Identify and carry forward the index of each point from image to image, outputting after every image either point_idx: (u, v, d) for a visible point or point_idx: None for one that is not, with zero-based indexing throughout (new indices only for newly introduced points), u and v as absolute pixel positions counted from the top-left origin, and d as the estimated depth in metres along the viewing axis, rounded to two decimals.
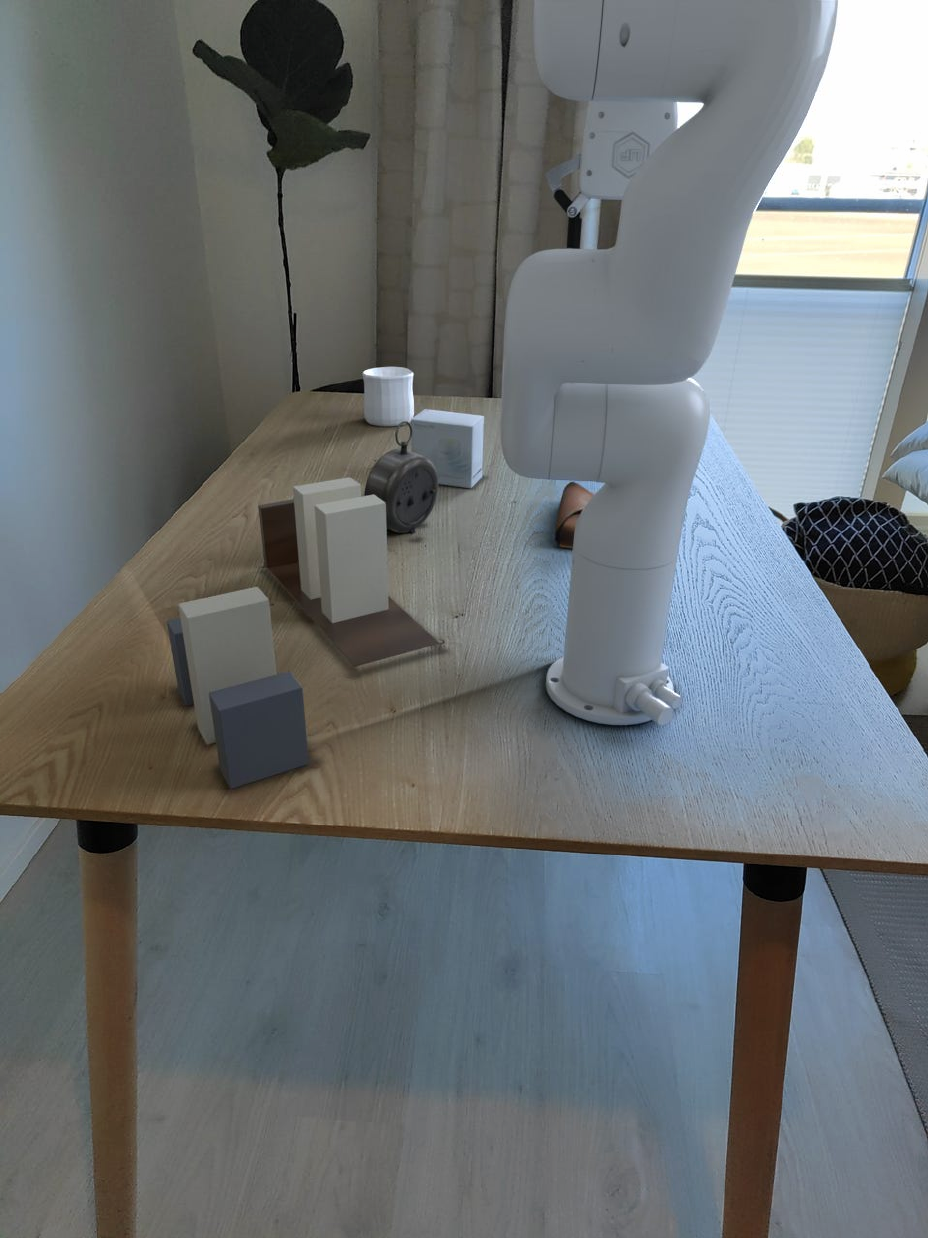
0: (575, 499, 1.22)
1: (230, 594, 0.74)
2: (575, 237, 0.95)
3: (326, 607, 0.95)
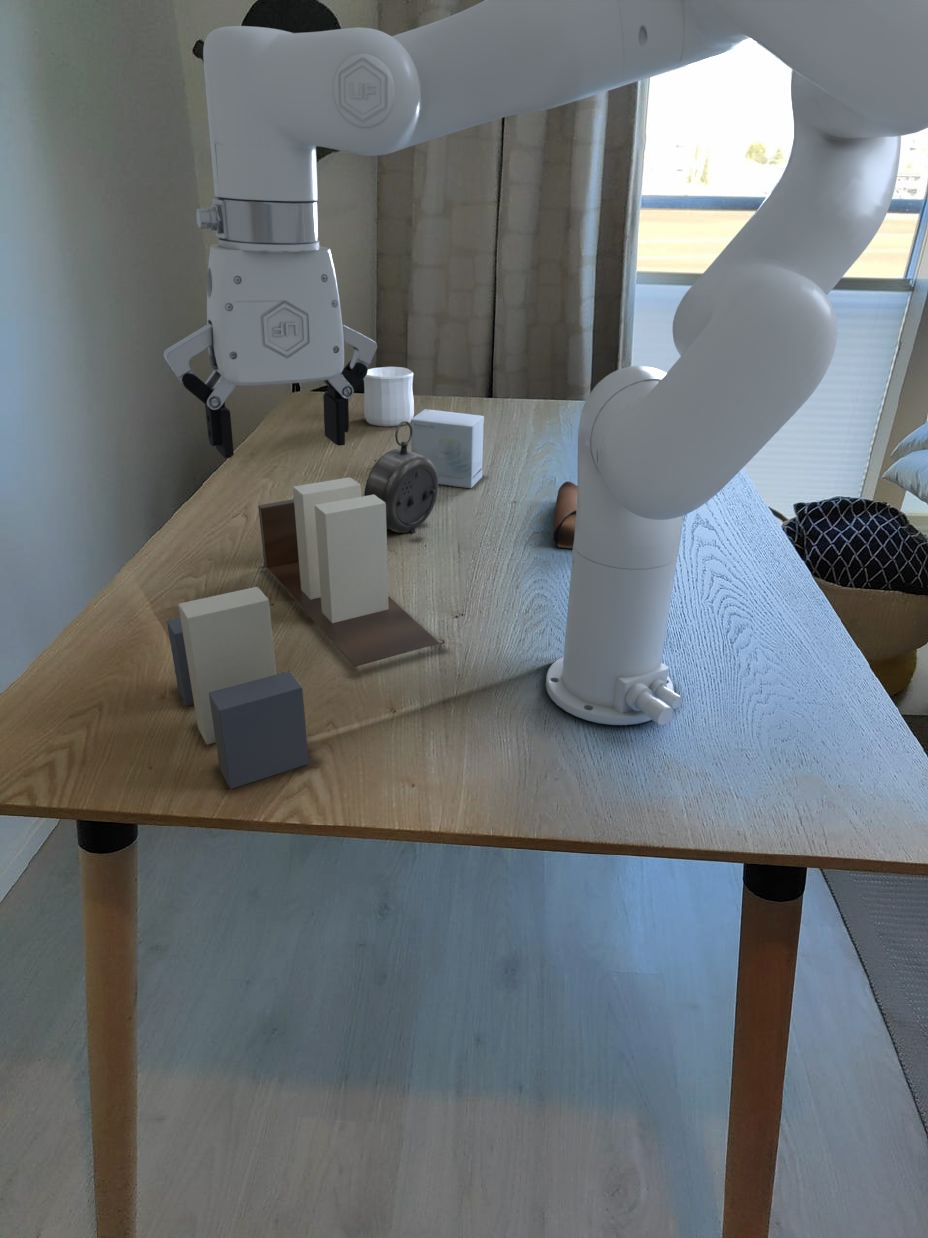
0: (572, 499, 1.22)
1: (230, 594, 0.74)
2: (225, 435, 0.68)
3: (326, 607, 0.95)
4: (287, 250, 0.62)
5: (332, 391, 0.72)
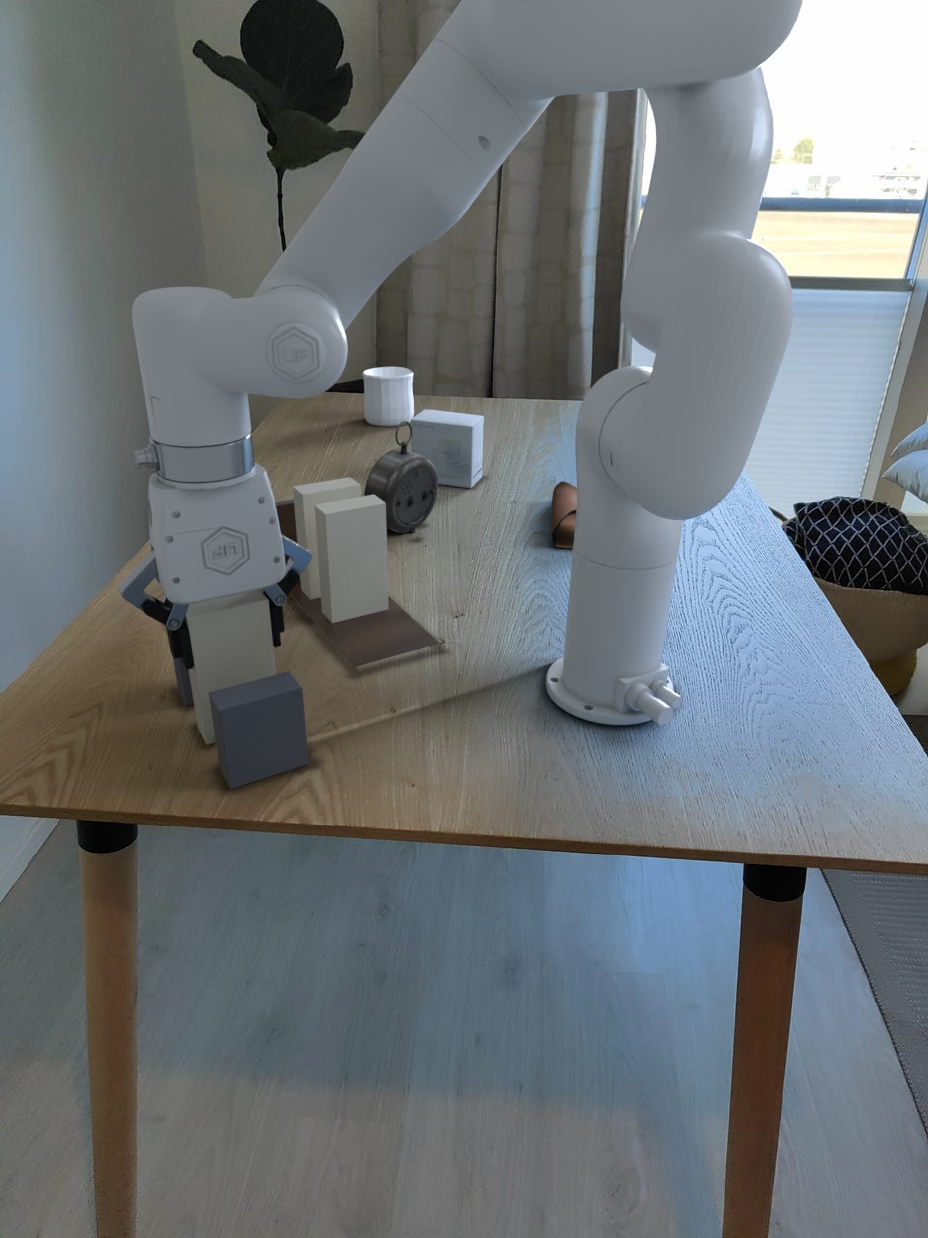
0: (569, 499, 1.22)
1: None
2: (185, 650, 0.72)
3: (326, 607, 0.95)
4: (222, 486, 0.65)
5: None
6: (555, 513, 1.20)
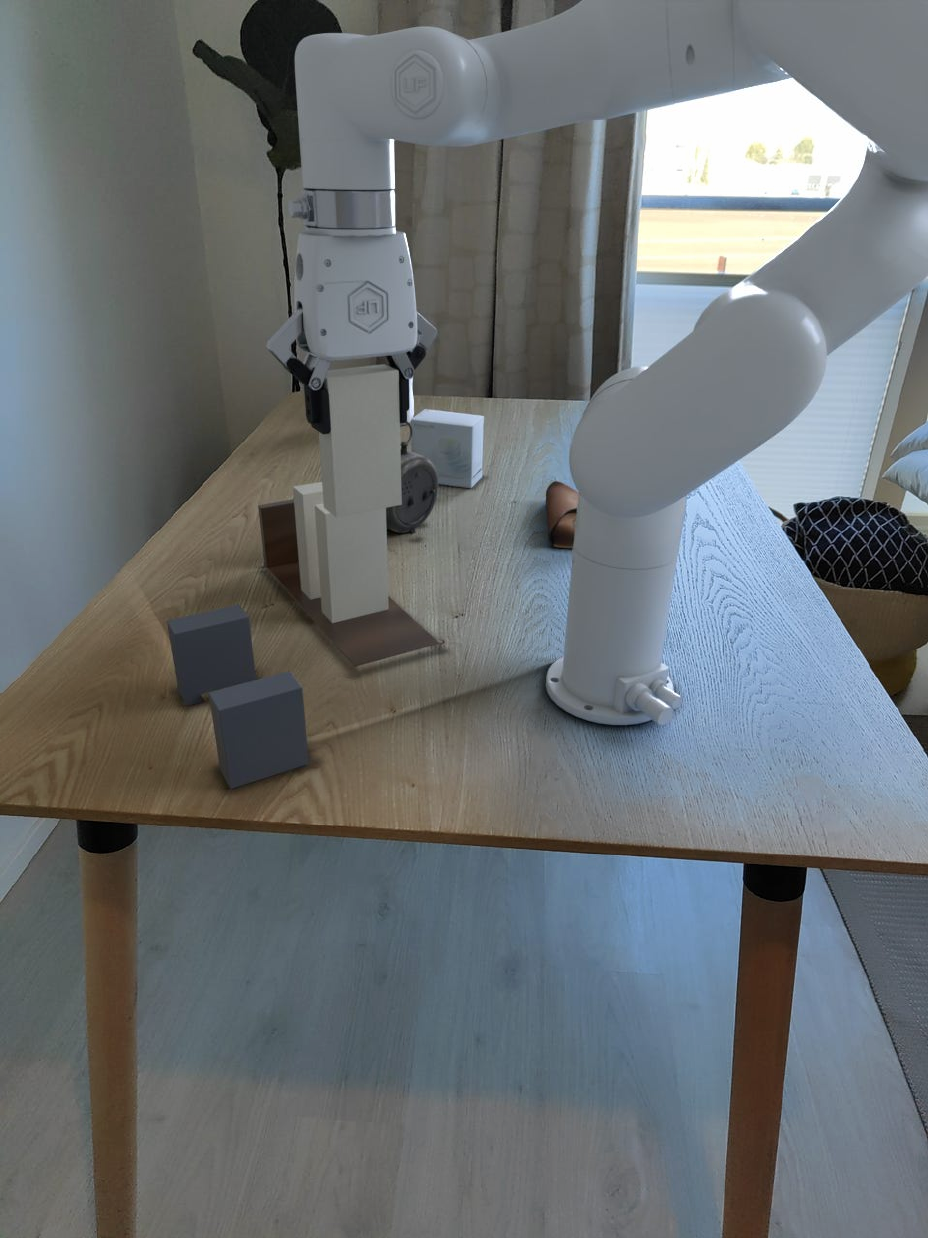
0: (564, 499, 1.22)
1: (361, 367, 0.78)
2: (324, 413, 0.76)
3: (326, 607, 0.95)
4: (371, 235, 0.69)
5: None
6: (551, 513, 1.20)
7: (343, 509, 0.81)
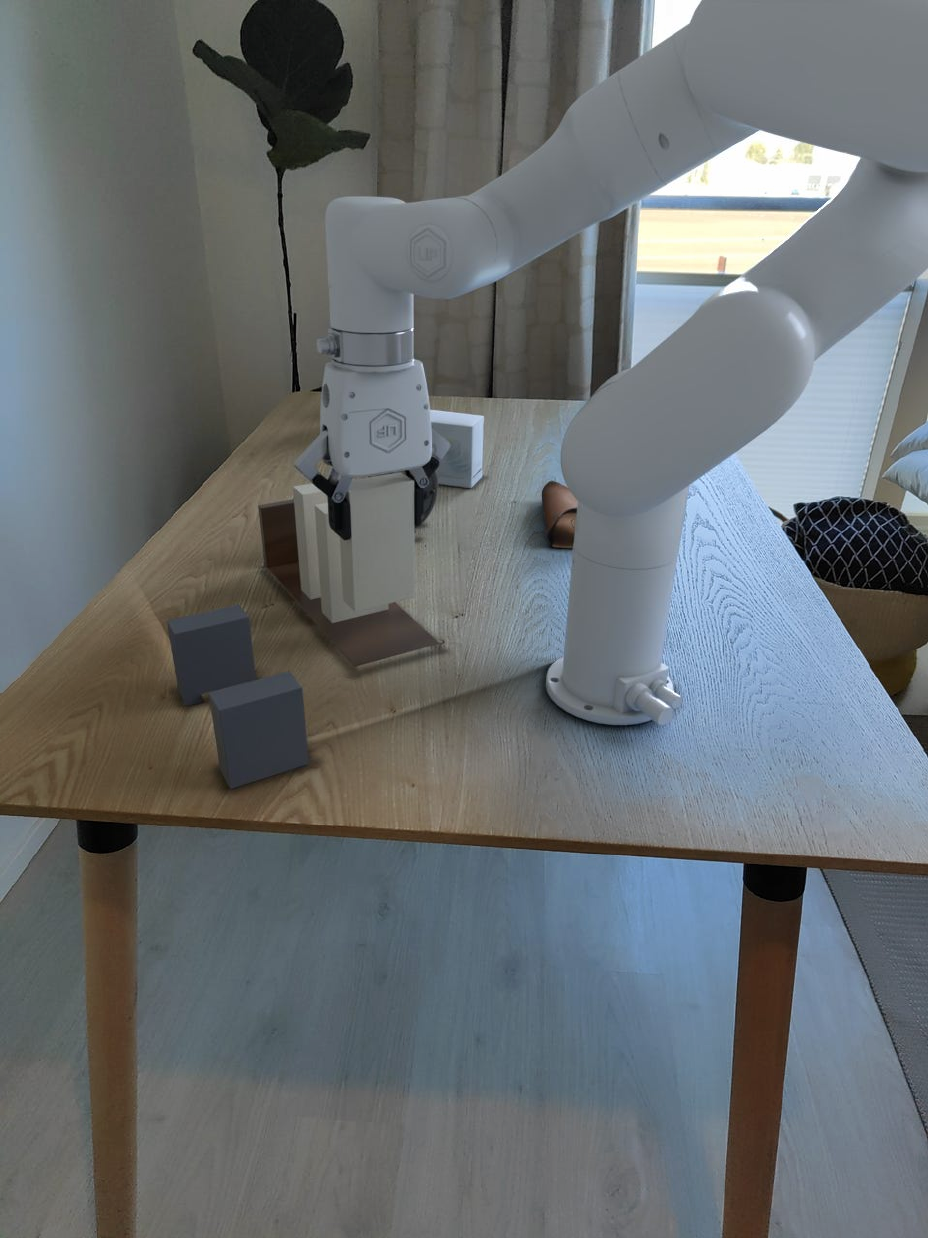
0: (561, 498, 1.22)
1: (379, 477, 0.85)
2: (346, 522, 0.82)
3: (326, 607, 0.95)
4: (392, 370, 0.76)
5: None
6: (549, 513, 1.20)
7: (361, 604, 0.88)
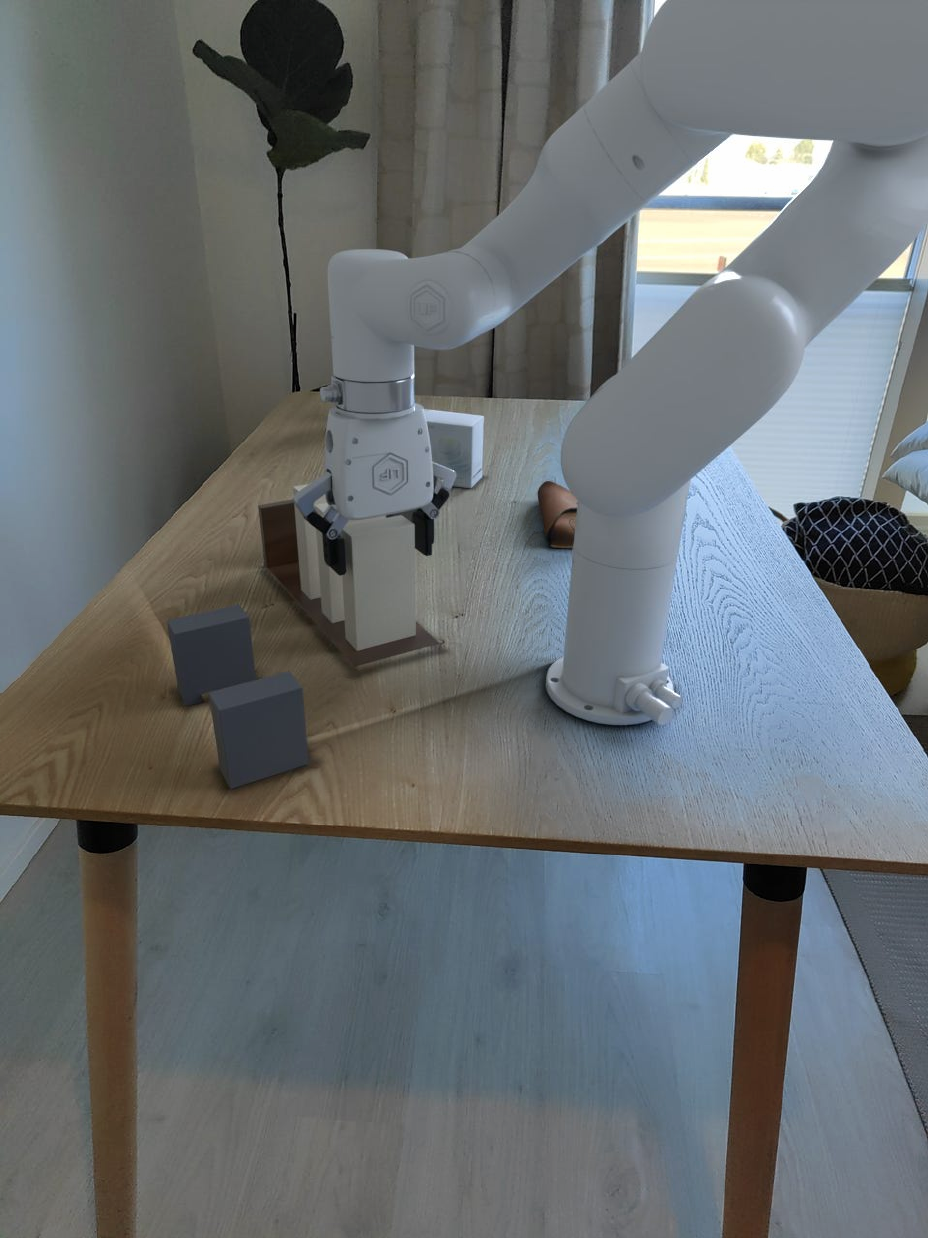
0: (558, 498, 1.22)
1: (380, 520, 0.87)
2: (340, 558, 0.84)
3: (326, 607, 0.95)
4: (394, 417, 0.78)
5: (421, 513, 0.88)
6: (547, 513, 1.20)
7: (363, 643, 0.90)
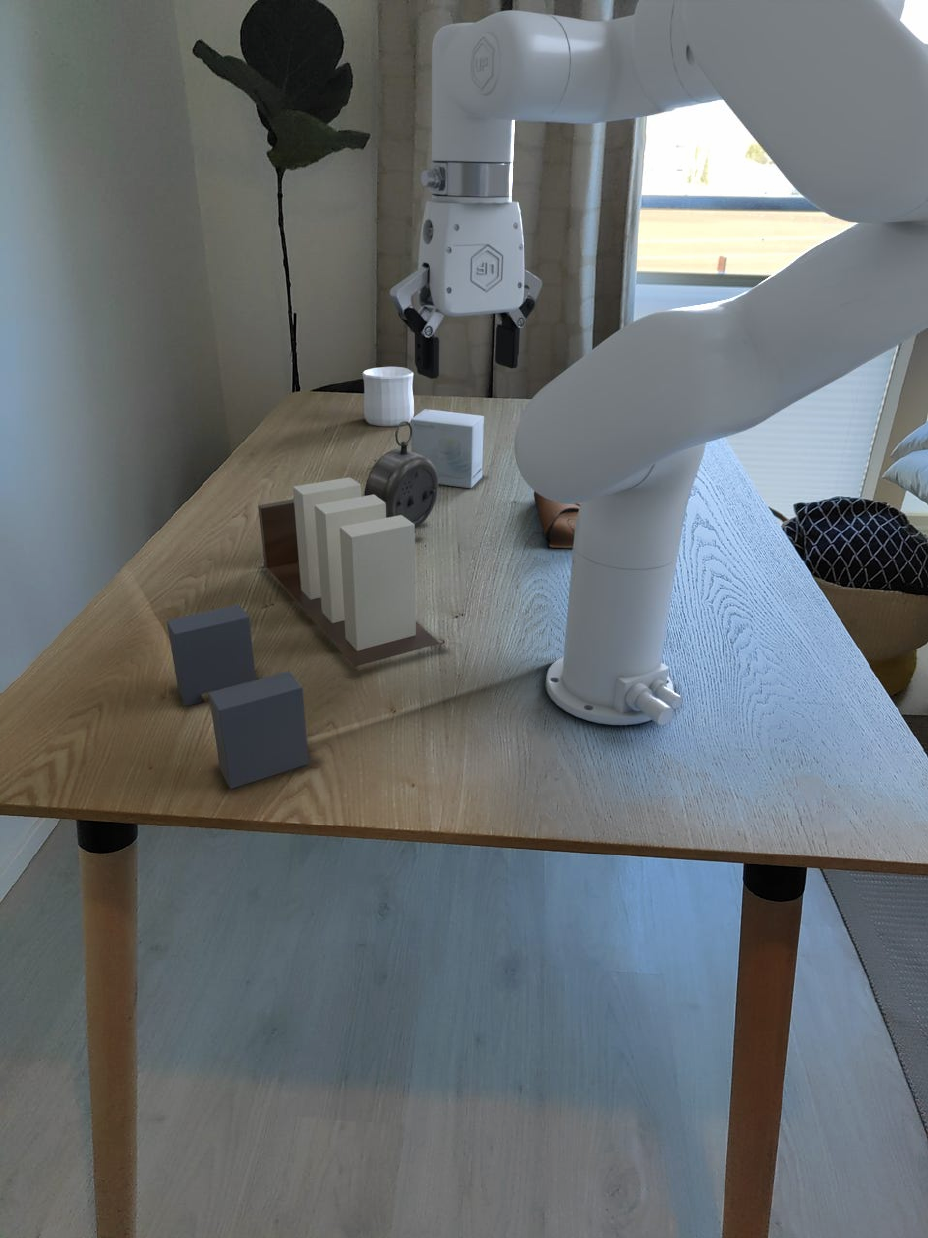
0: None
1: (380, 520, 0.87)
2: (434, 358, 0.83)
3: (326, 607, 0.95)
4: (495, 202, 0.78)
5: (507, 323, 0.88)
6: (545, 513, 1.20)
7: (363, 643, 0.90)
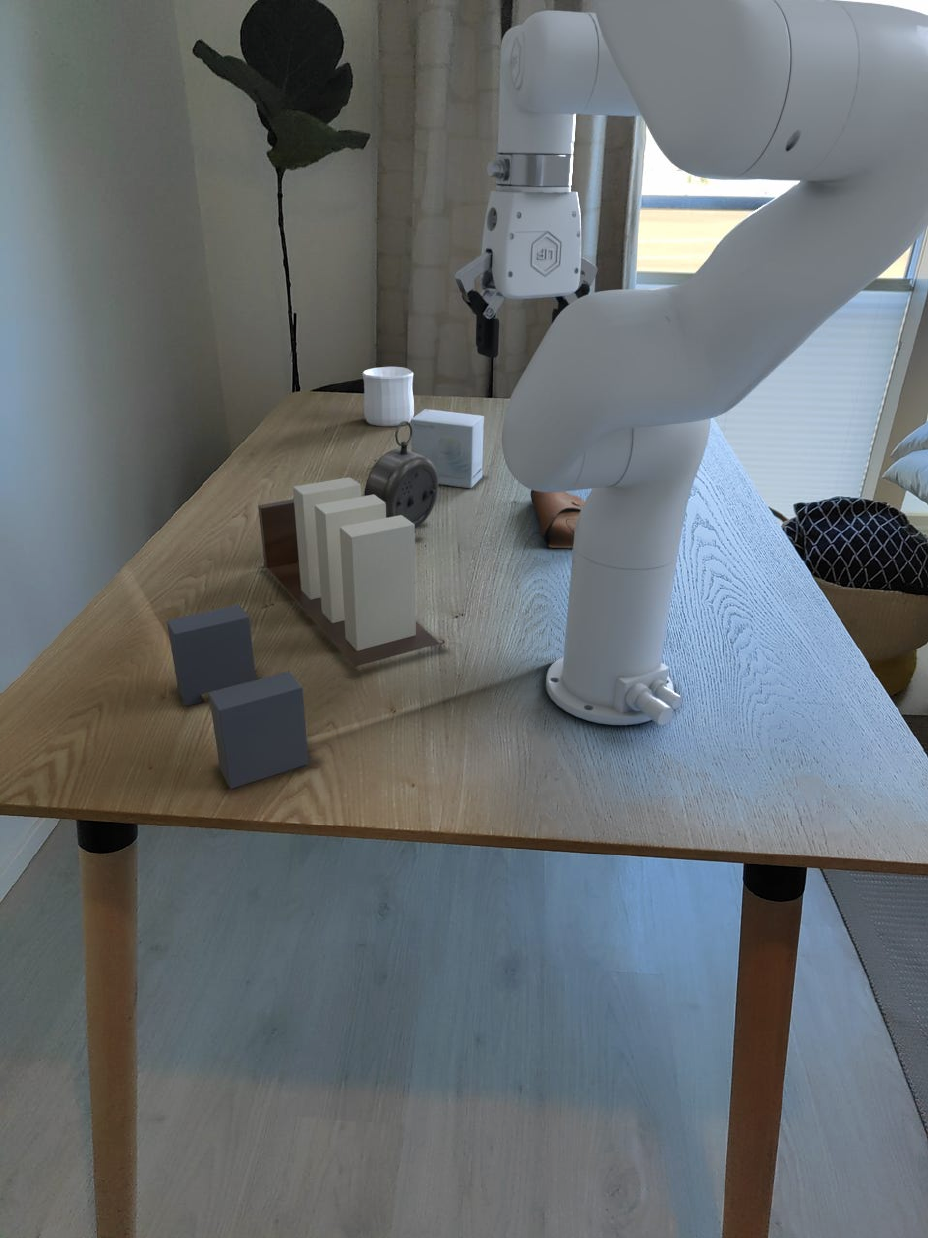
0: (553, 498, 1.22)
1: (380, 520, 0.87)
2: (494, 338, 0.89)
3: (326, 607, 0.95)
4: (556, 191, 0.83)
5: (563, 307, 0.93)
6: (543, 513, 1.20)
7: (363, 643, 0.90)
